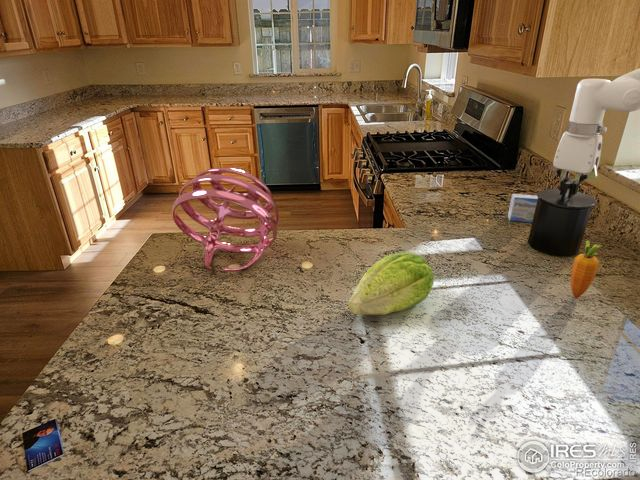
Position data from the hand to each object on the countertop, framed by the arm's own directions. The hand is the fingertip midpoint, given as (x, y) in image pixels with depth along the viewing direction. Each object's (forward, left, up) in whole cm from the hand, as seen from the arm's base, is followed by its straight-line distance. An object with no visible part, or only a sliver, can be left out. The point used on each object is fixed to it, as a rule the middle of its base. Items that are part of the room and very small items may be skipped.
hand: (567, 194), depth 120 cm
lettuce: (+11, +61, -17) cm, 64 cm away
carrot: (-16, +24, -17) cm, 33 cm away
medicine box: (+16, -12, -17) cm, 26 cm away
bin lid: (0, 0, -1) cm, 1 cm away
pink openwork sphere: (+56, +76, -17) cm, 96 cm away
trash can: (0, 0, -16) cm, 16 cm away
